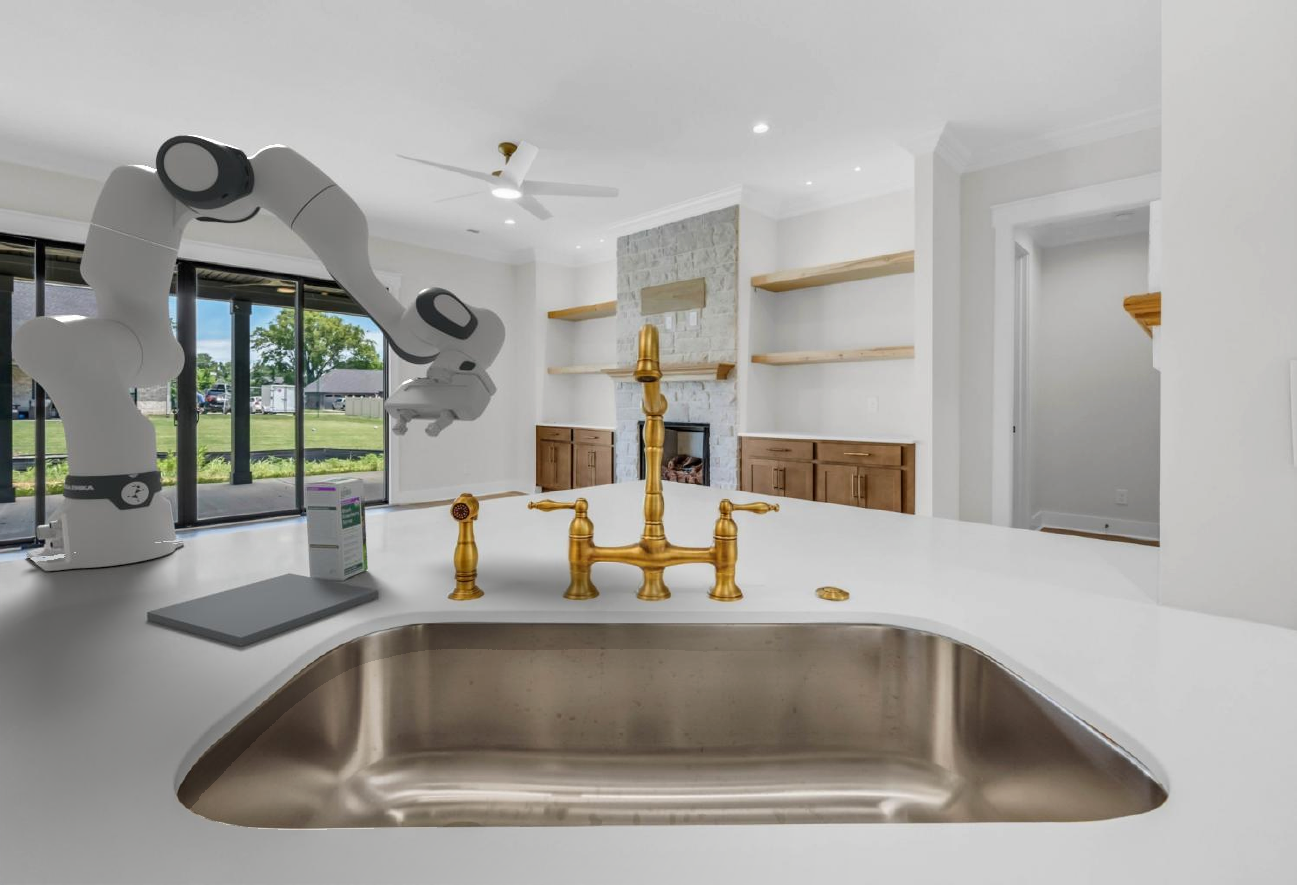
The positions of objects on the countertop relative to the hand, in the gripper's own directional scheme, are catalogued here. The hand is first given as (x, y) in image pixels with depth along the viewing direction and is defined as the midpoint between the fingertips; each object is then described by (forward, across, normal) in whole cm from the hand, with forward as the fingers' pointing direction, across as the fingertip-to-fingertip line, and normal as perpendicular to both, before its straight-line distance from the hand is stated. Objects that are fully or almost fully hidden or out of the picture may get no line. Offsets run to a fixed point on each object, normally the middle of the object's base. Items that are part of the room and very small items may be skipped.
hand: (413, 433), depth 105 cm
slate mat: (+35, +5, -6) cm, 36 cm away
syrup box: (+26, 0, +4) cm, 26 cm away
